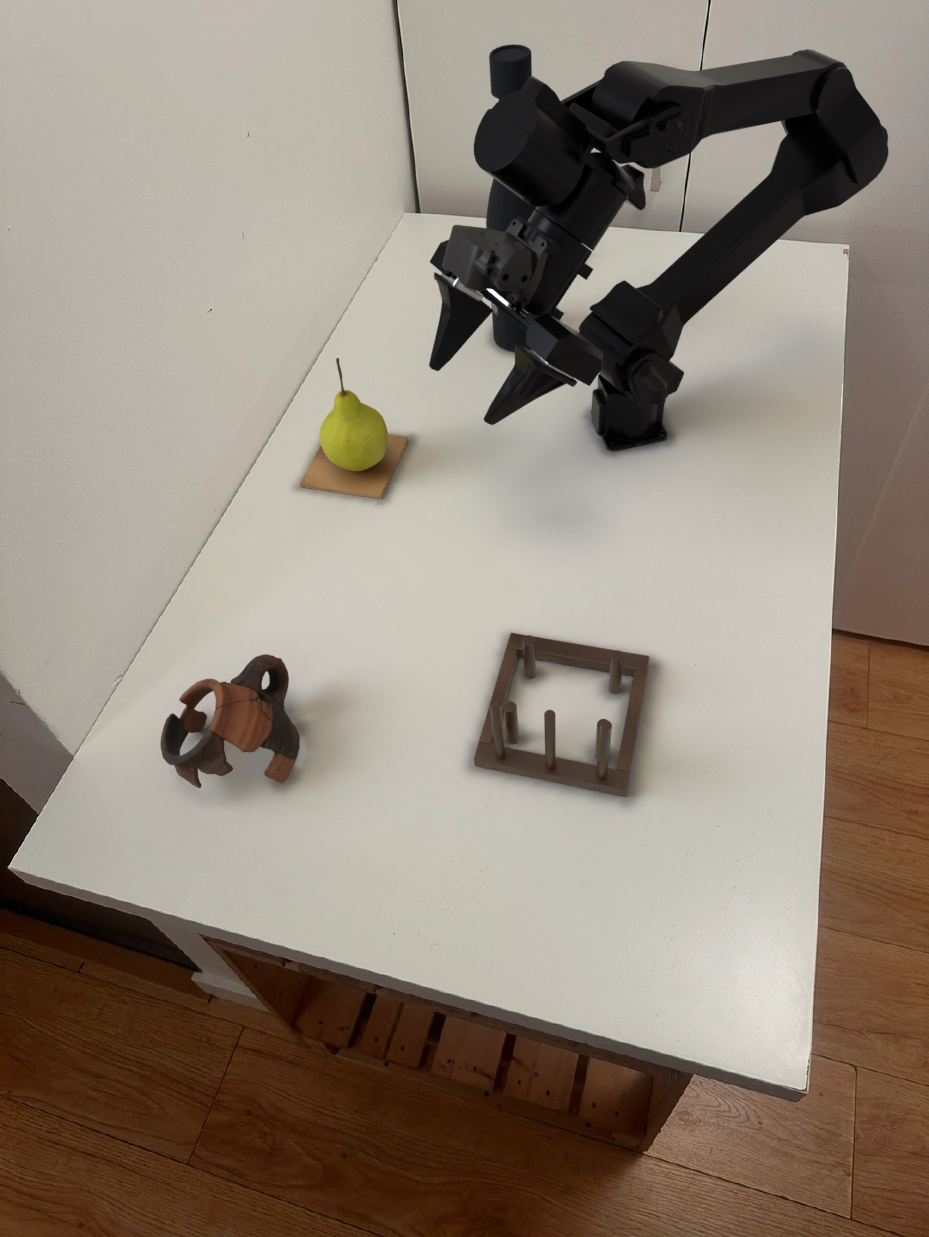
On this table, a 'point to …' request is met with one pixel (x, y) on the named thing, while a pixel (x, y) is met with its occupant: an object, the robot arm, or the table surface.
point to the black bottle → (503, 205)
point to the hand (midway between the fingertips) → (459, 395)
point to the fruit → (353, 432)
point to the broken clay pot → (235, 723)
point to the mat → (355, 472)
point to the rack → (549, 764)
